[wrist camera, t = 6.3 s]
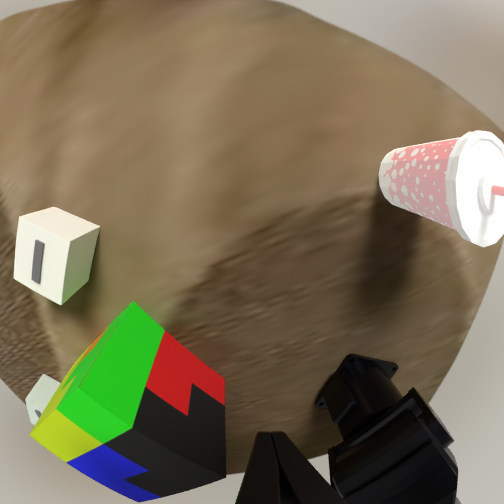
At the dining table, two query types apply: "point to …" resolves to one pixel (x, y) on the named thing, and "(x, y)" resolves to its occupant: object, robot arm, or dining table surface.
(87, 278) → the digit block one
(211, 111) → the dining table surface
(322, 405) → the robot arm
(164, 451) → the puzzle toy
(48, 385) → the digit block seven
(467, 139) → the beverage cup
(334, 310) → the dining table surface
